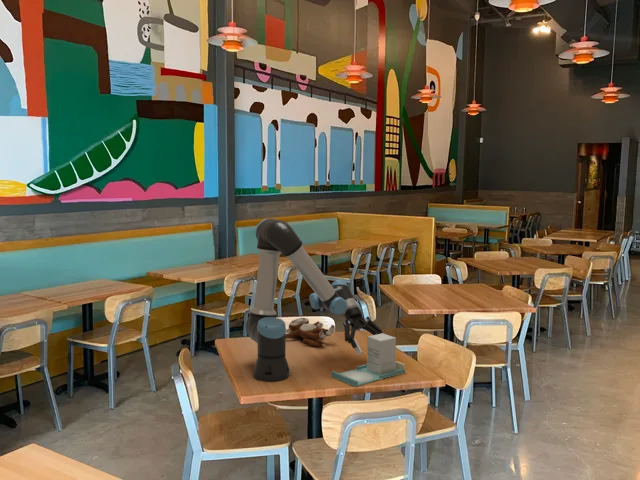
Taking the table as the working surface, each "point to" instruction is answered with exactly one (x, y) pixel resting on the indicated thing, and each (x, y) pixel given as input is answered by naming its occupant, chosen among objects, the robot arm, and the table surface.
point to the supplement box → (381, 353)
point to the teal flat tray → (365, 375)
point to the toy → (309, 331)
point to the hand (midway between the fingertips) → (372, 351)
